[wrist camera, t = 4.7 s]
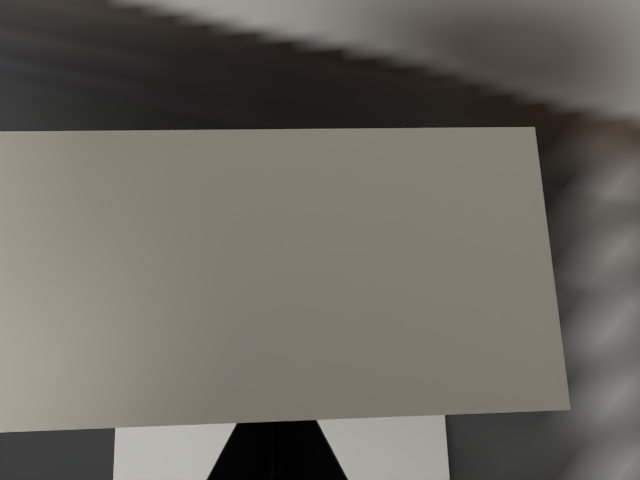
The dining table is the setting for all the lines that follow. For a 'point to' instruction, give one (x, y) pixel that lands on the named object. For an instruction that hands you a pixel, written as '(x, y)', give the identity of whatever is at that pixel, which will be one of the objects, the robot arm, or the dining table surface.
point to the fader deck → (342, 434)
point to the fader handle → (273, 276)
